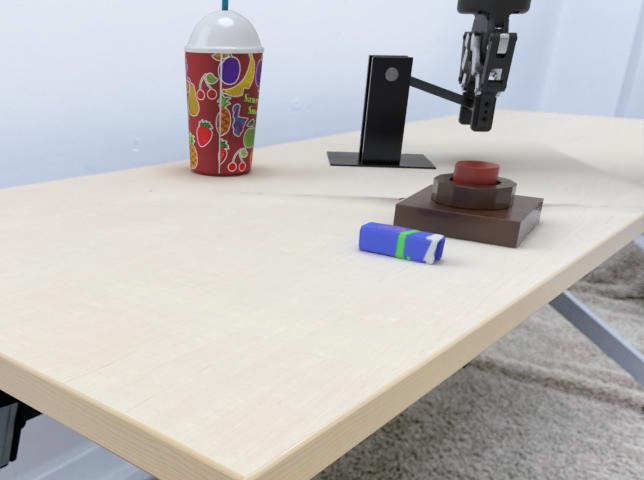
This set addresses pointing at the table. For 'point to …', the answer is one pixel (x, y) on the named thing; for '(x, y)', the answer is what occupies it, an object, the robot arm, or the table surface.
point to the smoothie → (222, 92)
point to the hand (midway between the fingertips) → (473, 127)
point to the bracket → (384, 118)
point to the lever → (442, 93)
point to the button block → (471, 211)
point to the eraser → (401, 242)
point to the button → (476, 173)
